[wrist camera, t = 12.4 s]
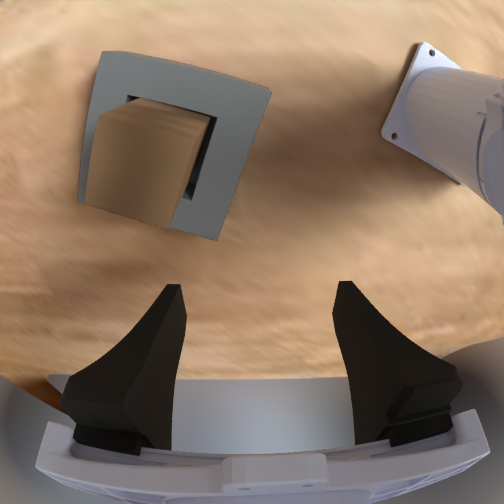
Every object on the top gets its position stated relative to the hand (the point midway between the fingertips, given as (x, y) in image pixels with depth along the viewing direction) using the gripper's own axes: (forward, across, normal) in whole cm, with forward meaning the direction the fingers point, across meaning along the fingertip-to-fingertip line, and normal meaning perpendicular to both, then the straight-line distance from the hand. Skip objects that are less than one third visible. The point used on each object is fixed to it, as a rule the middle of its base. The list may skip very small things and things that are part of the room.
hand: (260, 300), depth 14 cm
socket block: (+10, +6, -5) cm, 12 cm away
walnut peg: (+9, +5, -6) cm, 12 cm away
